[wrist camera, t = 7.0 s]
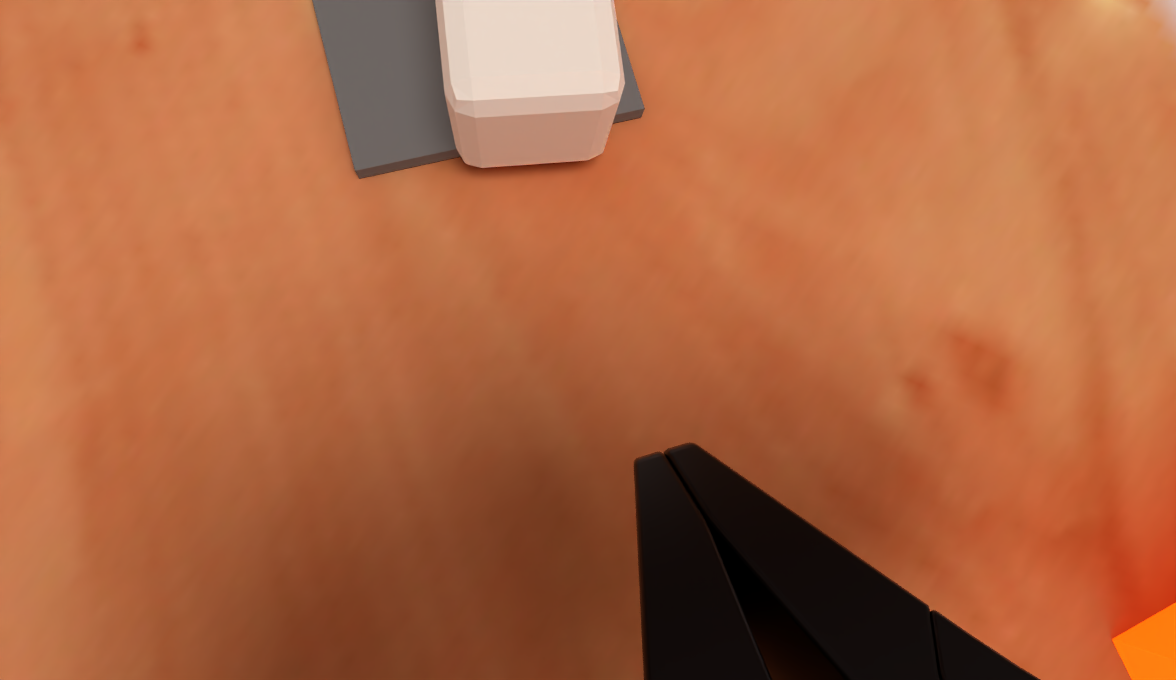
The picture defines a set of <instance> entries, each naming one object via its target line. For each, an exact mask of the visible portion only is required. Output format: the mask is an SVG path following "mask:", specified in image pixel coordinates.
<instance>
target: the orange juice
mask: <svg viewBox="0 0 1176 680" xmlns="http://www.w3.org/2000/svg"><path fill="white" fill-rule="evenodd" d="M1112 641H1113V643H1114V645H1115V647H1116V649H1117V651H1118V653H1119V655H1120V657H1121V659H1122V661H1123V663H1124V665H1125V667H1126V669H1127V671H1128V673H1129V675H1130V677H1131V679H1132V680H1176V603H1174V604H1172V605H1171V606H1169V607H1167V608H1165V609H1164V610H1162V611H1160V612H1158V613H1157V614H1155V615H1153V616H1152V617H1150V618H1148V619H1146V620H1145V621H1143V622H1141V623H1139V624H1138V625H1136V626H1134V627H1132V628H1131V629H1129V630H1127V631H1126V632H1124V633H1122V634H1120V635H1119V636H1117V637H1115V638H1113V639H1112Z"/></svg>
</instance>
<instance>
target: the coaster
mask: <svg viewBox="0 0 1176 680" xmlns="http://www.w3.org/2000/svg"><path fill="white" fill-rule="evenodd" d="M312 1H313V5H314V9H315V13H316V17H317V21H318V25H319V29H320V33H321V37H322V41H323V45H324V49H325V53H326V57H327V61H328V65H329V69H330V73H331V77H332V81H333V85H334V89H335V93H336V97H337V101H338V105H339V109H340V113H341V117H342V121H343V125H344V129H345V133H346V137H347V141H348V145H349V149H350V153H351V157H352V161H353V165H354V169H355V172H356V173H357V175H358V177H359V179H360V178H364V177H369V176H373V175H378V174H383V173H387V172H392V171H396V170H401V169H406V168H410V167H415V166H420V165H424V164H429V163H433V162H438V161H443V160H447V159H452V158H456V157H461V156H460V154H459V152H458V150H457V149H456V145H455V141H454V136H453V131H452V127H451V122H450V117H449V112H448V108H447V103H446V98H445V93H444V83H443V73H442V63H441V53H440V43H439V33H438V23H437V13H436V3H435V0H312ZM616 20H617V19H616ZM617 27H618V35H619V42H620V50H621V57H622V64H623V72H624V79H625V85H624V88H623V92H622V95H621V99H620V102H619V105H618V108H617V111H616V114H615V117H614V120H613V123H617V122H622V121H627V120H631V119H636V118H640V117H641V116H642V114H643V111H644V109H645V108H644V105H643V102H642V99H641V95H640V92H639V89H638V86H637V83H636V79H635V76H634V73H633V70H632V67H631V63H630V60H629V57H628V54H627V51H626V48H625V44H624V41H623V38H622V35H621V32H620V28H619V25H618V22H617Z"/></svg>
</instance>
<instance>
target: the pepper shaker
mask: <svg viewBox="0 0 1176 680" xmlns="http://www.w3.org/2000/svg"><path fill="white" fill-rule="evenodd" d="M435 3H436V13H437V23H438V33H439V43H440V53H441V63H442V73H443V83H444V93H445V98H446V103H447V108H448V112H449V117H450V122H451V127H452V131H453V136H454V141H455V145H456V149H457V150H458V152H459V154H460V156H461V157H462V159H463V161H464V163H466V164H468V165H471V166H476V167H480V168H488V167H502V166H516V165H530V164H544V163H558V162H572V161H586V160H590V159H592V158H594V157H596V156H598V155H600V154H602V153H603V151H604V148H605V145H606V142H607V139H608V136H609V133H610V130H611V127H612V124H613V120H614V117H615V114H616V111H617V108H618V105H619V102H620V99H621V95H622V92H623V88H624V85H625V79H624V72H623V64H622V57H621V50H620V42H619V35H618V27H617V20H616V12H615V5H614V0H435Z"/></svg>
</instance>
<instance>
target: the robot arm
mask: <svg viewBox="0 0 1176 680" xmlns="http://www.w3.org/2000/svg"><path fill="white" fill-rule="evenodd" d="M634 483H635V503H636V524H637V545H638V566H639V586H640V607H641V628H642V649H643V669H644V680H1040V679H1039V678H1037V677H1035V676H1034V675H1032V674H1030V673H1029V672H1027V671H1025V670H1024V669H1022V668H1020V667H1019V666H1017V665H1016V664H1014V663H1013V662H1011V661H1010V660H1008V659H1007V658H1005V657H1004V656H1002V655H1001V654H999V653H998V652H996V651H995V650H993V649H991V648H990V647H988V646H987V645H985V644H984V643H982V642H981V641H979V640H978V639H976V638H975V637H973V636H972V635H970V634H969V633H967V632H966V631H964V630H963V629H962V628H960V627H959V626H957V625H956V624H954V623H953V622H952V621H950V620H949V619H947V618H946V617H944V616H943V615H942V614H940V613H939V612H937V611H935V610H932V611H931V612H930V609H929V606H928V605H927V604H925V603H924V602H922V601H921V600H920V599H918V598H917V597H915V596H914V595H912V594H911V593H910V592H908V591H907V590H905V589H904V588H902V587H901V586H899V585H898V584H897V583H895V582H894V581H892V580H891V579H889V578H888V577H887V576H885V575H884V574H882V573H881V572H879V571H878V570H876V569H875V568H874V567H872V566H871V565H869V564H868V563H866V562H865V561H864V560H862V559H861V558H859V557H858V556H856V555H855V554H853V553H852V552H851V551H849V550H848V549H846V548H845V547H843V546H842V545H841V544H839V543H838V542H836V541H835V540H833V539H832V538H830V537H829V536H828V535H826V534H825V533H823V532H822V531H820V530H819V529H818V528H816V527H815V526H813V525H812V524H810V523H809V522H807V521H806V520H805V519H803V518H802V517H800V516H799V515H797V514H796V513H794V512H793V511H792V510H790V509H789V508H787V507H786V506H784V505H783V504H782V503H780V502H779V501H777V500H776V499H774V498H773V497H771V496H770V495H769V494H767V493H766V492H764V491H763V490H761V489H760V488H759V487H757V486H756V485H754V484H753V483H751V482H750V481H748V480H747V479H746V478H744V477H743V476H741V475H740V474H738V473H737V472H736V471H734V470H733V469H731V468H730V467H728V466H727V465H725V464H724V463H723V462H721V461H720V460H718V459H717V458H715V457H714V456H713V455H711V454H710V453H708V452H707V451H705V450H704V449H702V448H701V447H700V446H698V445H697V444H694V443H685V444H682V445H678V446H675V447H672V448H668V449H667V450H665V451H664V454H663V453H662V452H655V453H652V454H648V455H645V456H642V457H638V458H636V459H635V461H634Z"/></svg>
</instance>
